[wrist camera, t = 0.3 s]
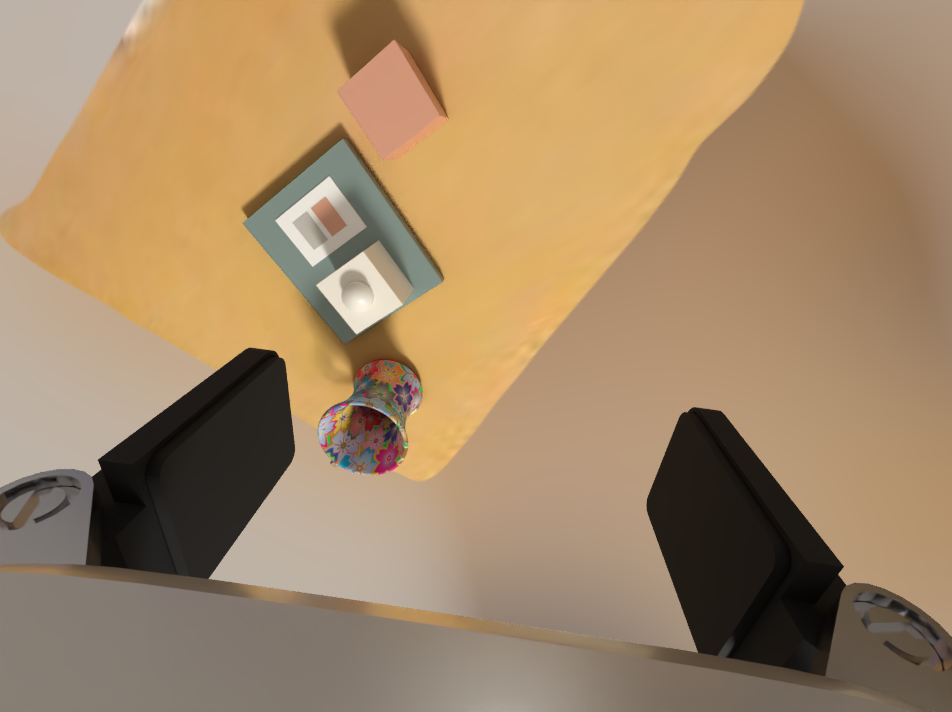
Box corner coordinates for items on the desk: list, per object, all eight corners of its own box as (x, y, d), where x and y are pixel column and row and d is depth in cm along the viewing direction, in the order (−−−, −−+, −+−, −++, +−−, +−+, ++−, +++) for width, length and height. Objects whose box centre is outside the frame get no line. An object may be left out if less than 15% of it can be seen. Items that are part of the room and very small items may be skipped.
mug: (382, 338, 49) (350, 385, 39) (442, 386, 51) (425, 441, 42) (327, 399, 53) (287, 454, 44) (385, 441, 56) (358, 502, 46)
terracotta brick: (357, 97, 38) (336, 91, 34) (409, 52, 36) (394, 39, 32) (397, 158, 40) (382, 160, 36) (448, 118, 38) (439, 115, 34)
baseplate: (249, 221, 44) (203, 234, 37) (347, 138, 40) (314, 137, 33) (348, 340, 49) (323, 369, 43) (444, 278, 45) (432, 301, 39)
